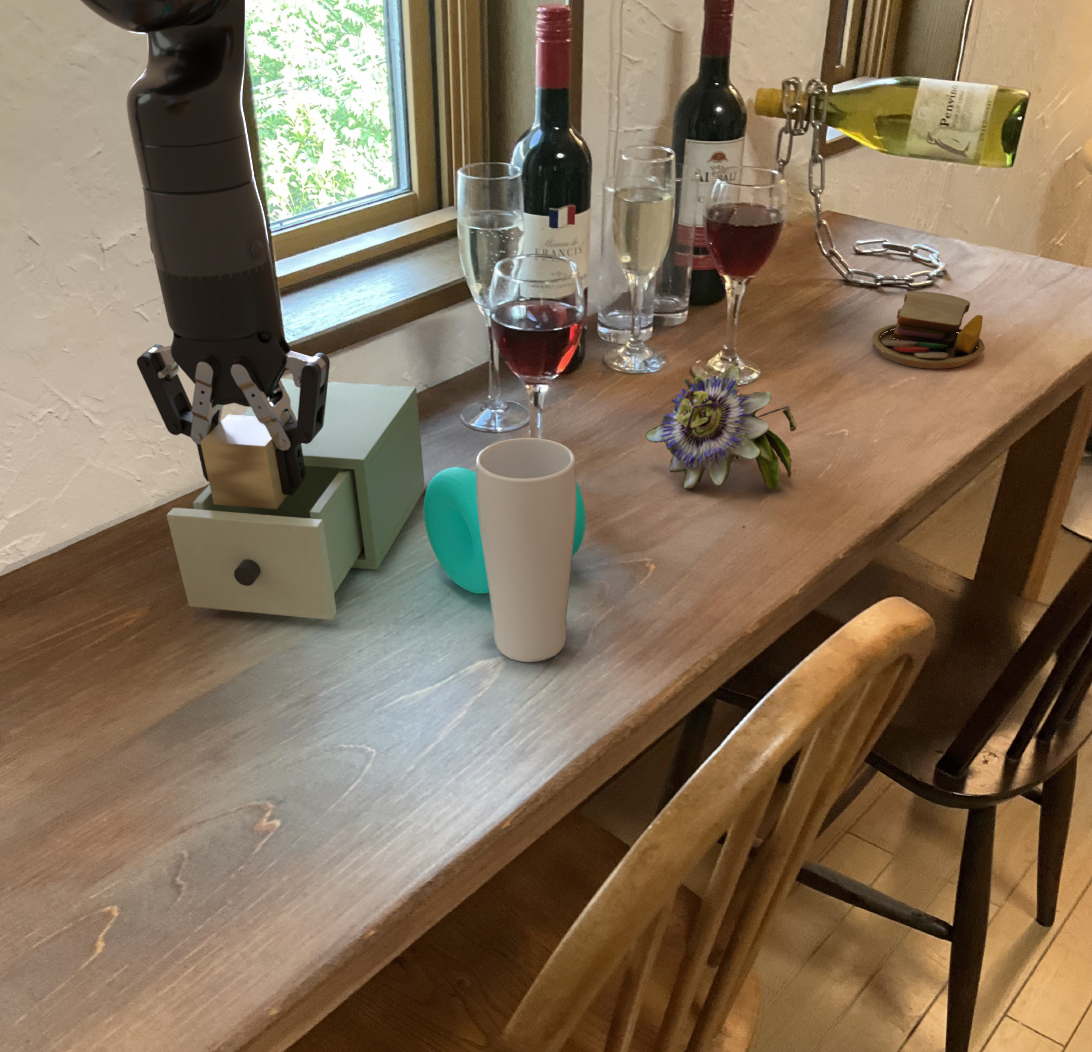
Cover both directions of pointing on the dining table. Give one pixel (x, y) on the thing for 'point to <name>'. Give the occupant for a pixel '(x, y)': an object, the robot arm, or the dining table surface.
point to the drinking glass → (527, 542)
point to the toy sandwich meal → (931, 333)
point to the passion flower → (721, 431)
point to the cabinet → (370, 455)
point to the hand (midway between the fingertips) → (256, 486)
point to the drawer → (272, 548)
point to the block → (242, 464)
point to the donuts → (466, 527)
